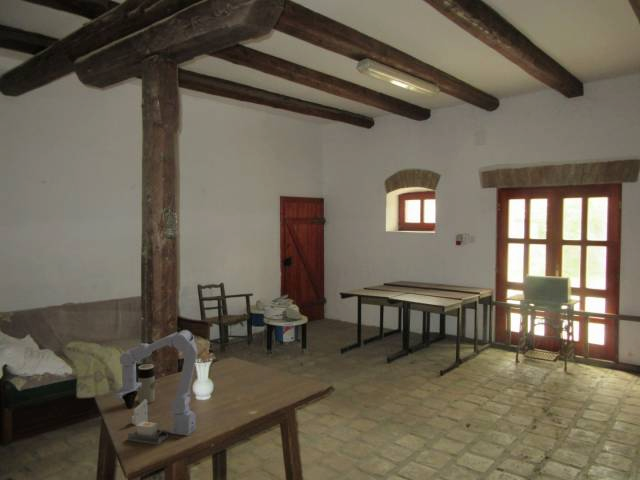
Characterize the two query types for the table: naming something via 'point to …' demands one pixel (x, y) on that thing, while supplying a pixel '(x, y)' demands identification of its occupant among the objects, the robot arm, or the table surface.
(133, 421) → the white wedge bracket
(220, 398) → the table surface
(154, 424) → the module
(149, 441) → the rail mount
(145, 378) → the travel mug
